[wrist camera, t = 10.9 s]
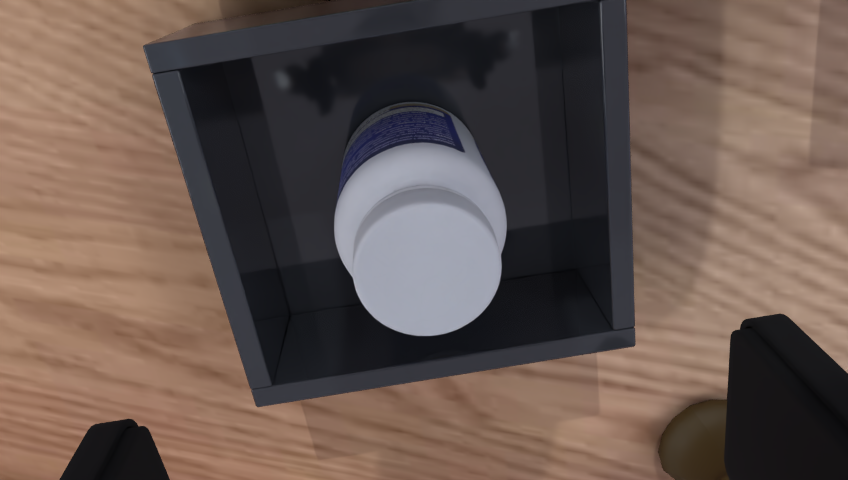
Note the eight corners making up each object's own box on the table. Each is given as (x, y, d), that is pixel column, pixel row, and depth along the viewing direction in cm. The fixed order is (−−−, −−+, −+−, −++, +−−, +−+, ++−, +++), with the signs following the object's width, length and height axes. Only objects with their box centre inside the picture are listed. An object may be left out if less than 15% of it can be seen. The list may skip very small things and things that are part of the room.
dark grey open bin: (192, 23, 24) (141, 45, 19) (573, -40, 24) (627, -35, 19) (278, 326, 29) (255, 408, 24) (591, 275, 29) (636, 347, 24)
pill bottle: (314, 177, 26) (284, 284, 18) (402, 69, 24) (413, 133, 16) (420, 256, 27) (436, 388, 19) (509, 160, 26) (567, 259, 18)
